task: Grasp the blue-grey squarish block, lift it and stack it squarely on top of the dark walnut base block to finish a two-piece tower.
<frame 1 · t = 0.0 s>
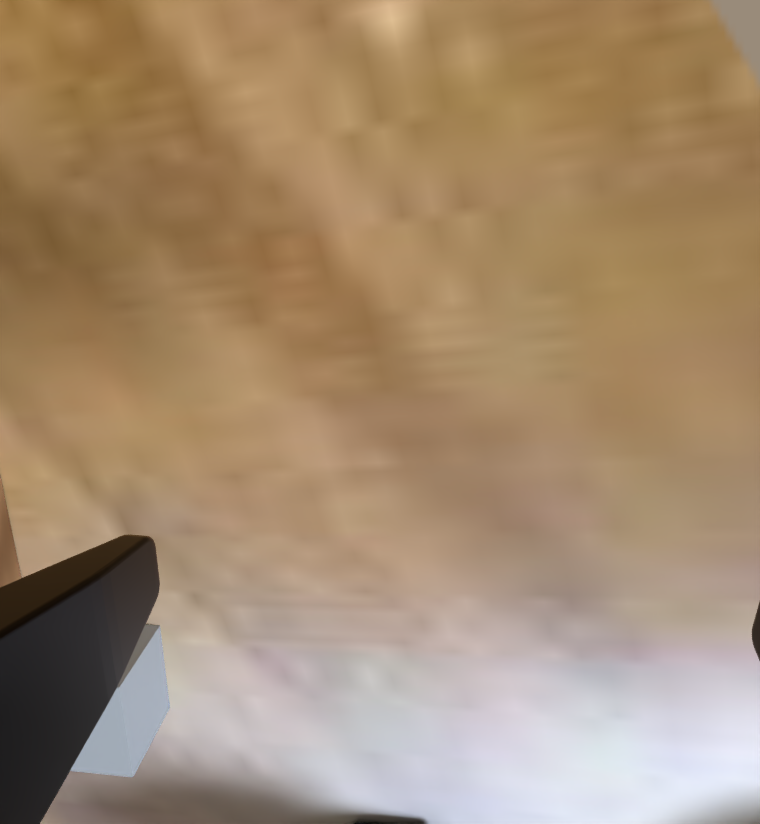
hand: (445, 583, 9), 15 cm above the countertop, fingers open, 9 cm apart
blue-grey squarish block: (117, 661, 29), on the countertop
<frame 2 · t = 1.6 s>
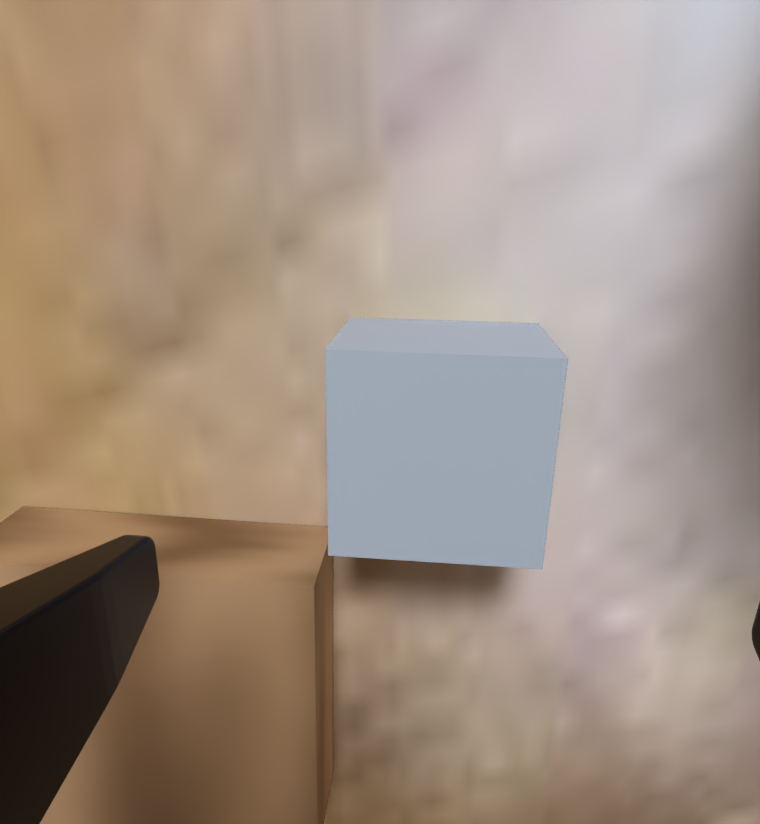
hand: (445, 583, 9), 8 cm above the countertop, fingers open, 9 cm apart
blue-grey squarish block: (438, 407, 17), on the countertop
base block: (187, 646, 20), on the countertop
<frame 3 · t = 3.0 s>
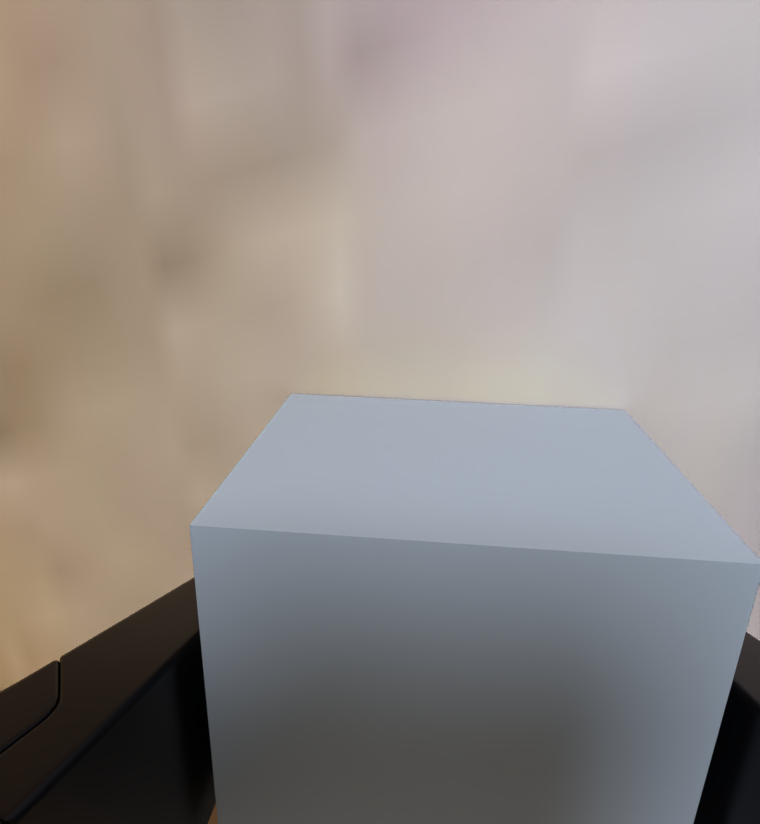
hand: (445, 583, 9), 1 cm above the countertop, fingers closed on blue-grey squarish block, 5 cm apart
blue-grey squarish block: (444, 545, 10), on the countertop, touching gripper
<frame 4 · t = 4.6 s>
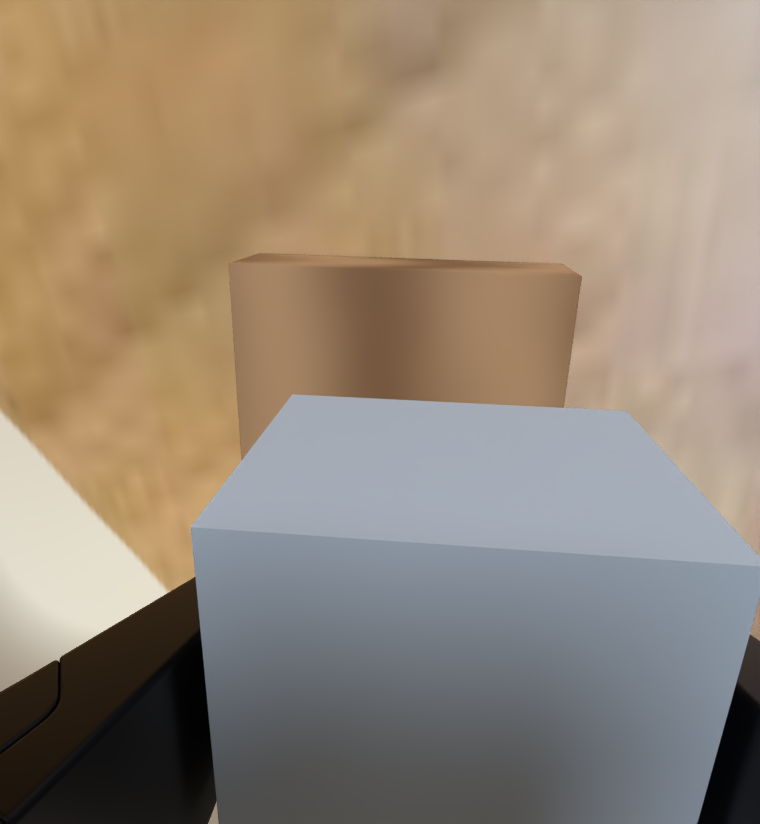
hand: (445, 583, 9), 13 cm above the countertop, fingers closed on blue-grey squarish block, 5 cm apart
blue-grey squarish block: (446, 546, 10), point 12 cm above the countertop, touching gripper
base block: (401, 401, 21), on the countertop
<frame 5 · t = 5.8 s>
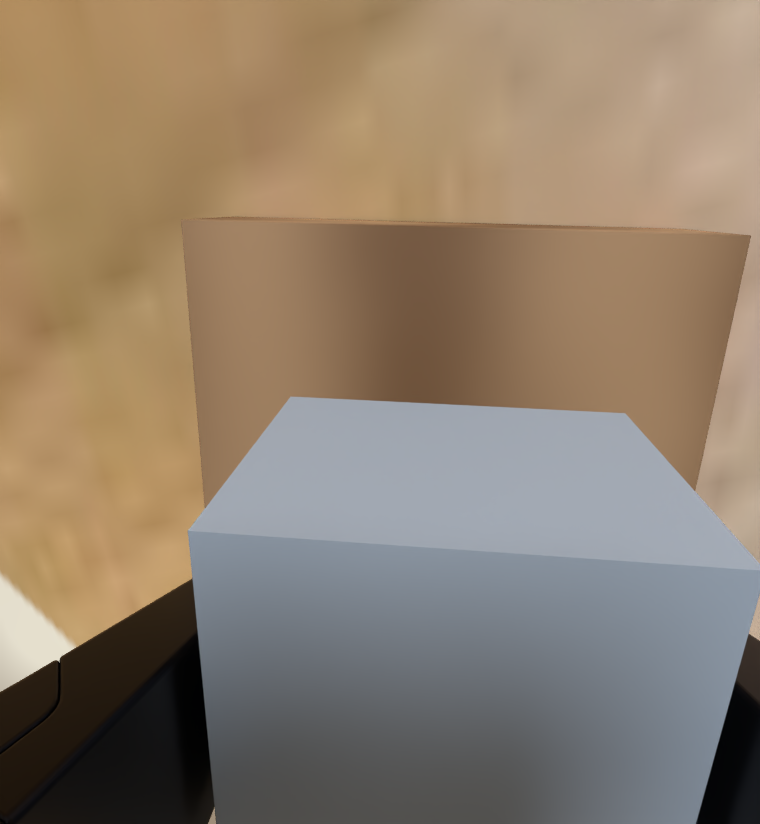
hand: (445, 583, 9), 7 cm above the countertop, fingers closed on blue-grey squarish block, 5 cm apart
blue-grey squarish block: (444, 548, 10), point 6 cm above the countertop, touching gripper
base block: (439, 431, 15), on the countertop
when the fingers open (5 cm above the countertop, at t = 6.5 s): blue-grey squarish block stays where it is, resting on base block.
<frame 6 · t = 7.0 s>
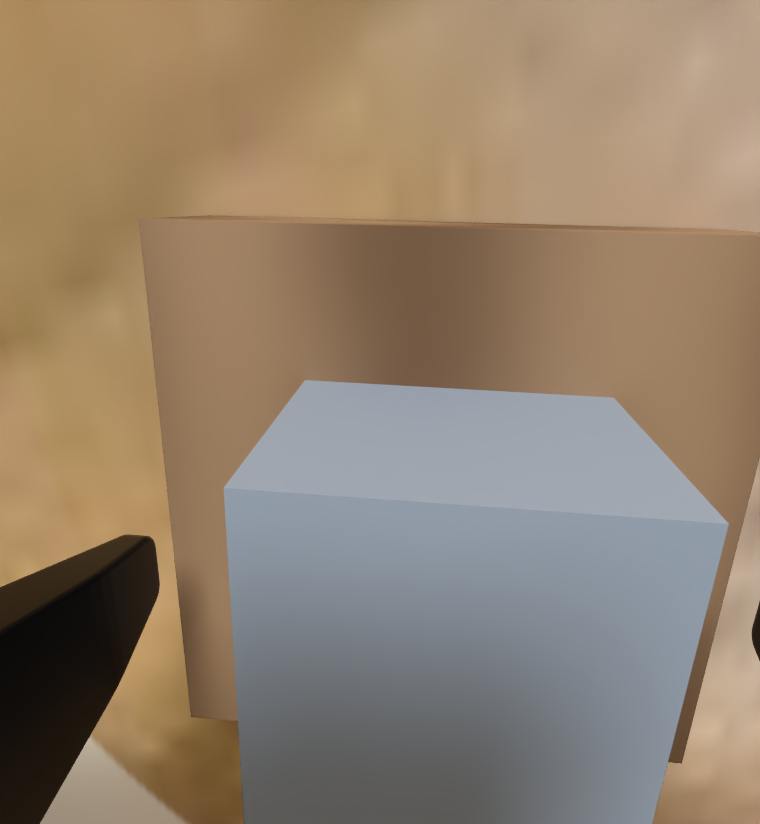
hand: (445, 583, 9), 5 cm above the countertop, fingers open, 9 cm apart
blue-grey squarish block: (445, 523, 11), point 3 cm above the countertop, touching base block
base block: (441, 456, 13), on the countertop
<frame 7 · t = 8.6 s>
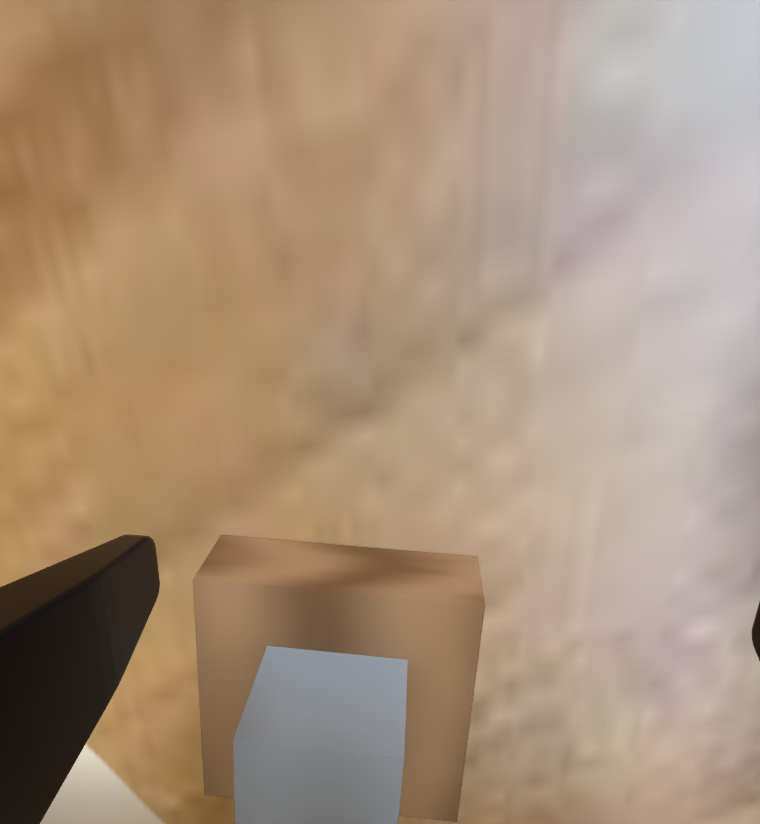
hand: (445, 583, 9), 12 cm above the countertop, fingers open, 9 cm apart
blue-grey squarish block: (334, 708, 22), point 3 cm above the countertop, touching base block
base block: (343, 651, 25), on the countertop
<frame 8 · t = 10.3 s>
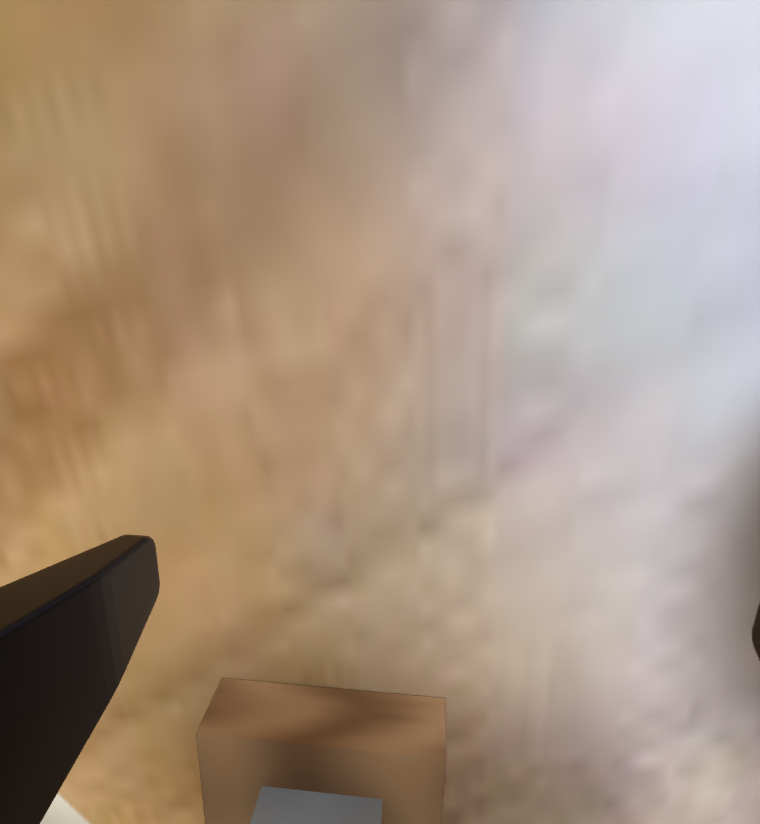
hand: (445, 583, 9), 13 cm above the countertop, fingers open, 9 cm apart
base block: (332, 772, 28), on the countertop
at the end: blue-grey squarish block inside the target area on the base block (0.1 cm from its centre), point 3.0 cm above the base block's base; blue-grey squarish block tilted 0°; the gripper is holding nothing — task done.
